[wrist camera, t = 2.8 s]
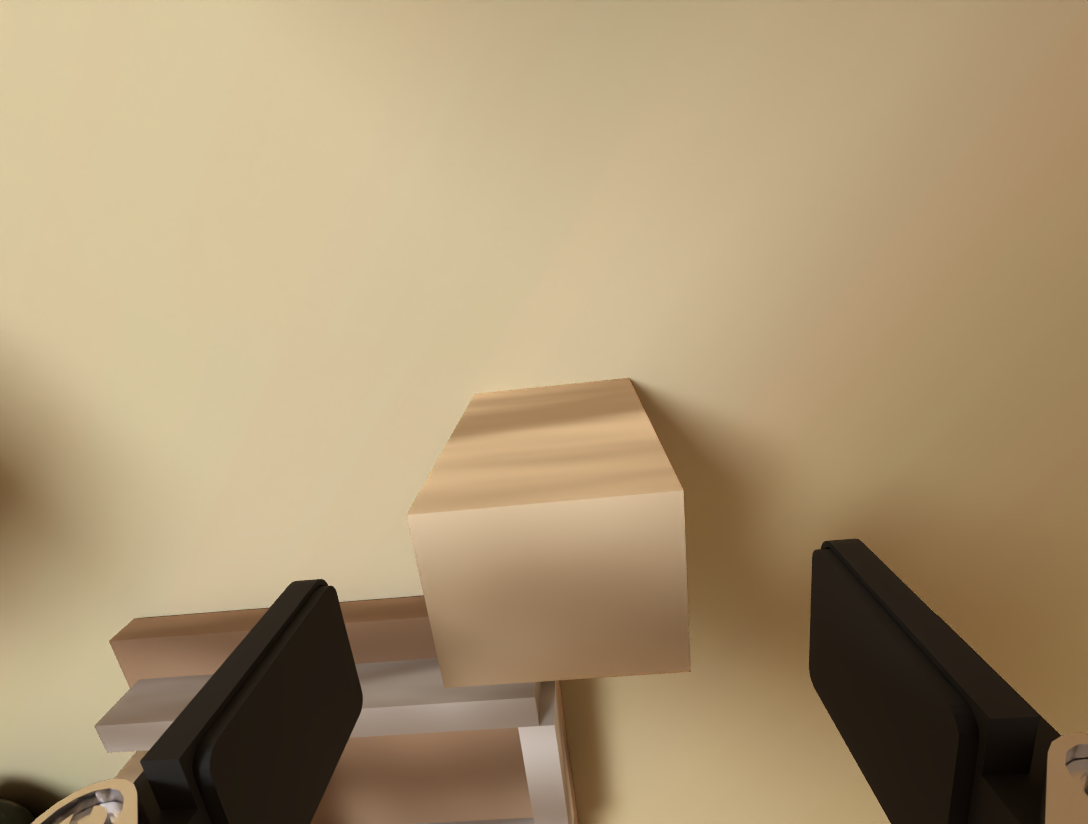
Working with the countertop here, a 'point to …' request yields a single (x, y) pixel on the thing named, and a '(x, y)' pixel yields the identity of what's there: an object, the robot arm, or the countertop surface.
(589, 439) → the wooden block
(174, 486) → the countertop surface
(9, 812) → the squash
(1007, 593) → the countertop surface
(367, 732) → the rail board
